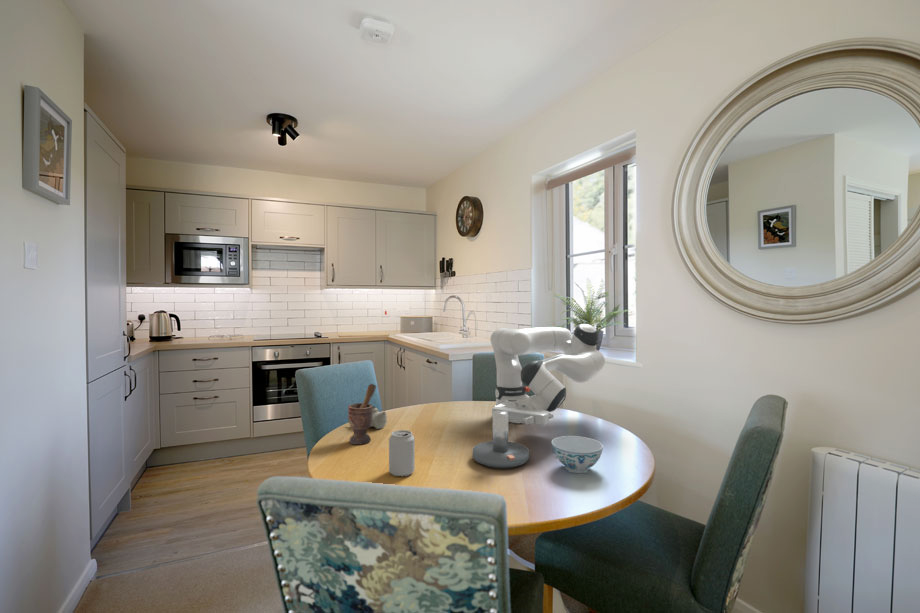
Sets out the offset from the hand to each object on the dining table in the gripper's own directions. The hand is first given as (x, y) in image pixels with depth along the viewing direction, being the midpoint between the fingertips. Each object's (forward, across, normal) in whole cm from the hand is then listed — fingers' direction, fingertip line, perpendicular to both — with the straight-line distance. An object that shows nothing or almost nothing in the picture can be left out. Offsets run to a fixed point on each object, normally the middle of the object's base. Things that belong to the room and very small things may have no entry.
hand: (510, 419), depth 141 cm
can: (+31, +21, -12) cm, 39 cm away
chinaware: (0, -22, -12) cm, 25 cm away
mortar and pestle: (+16, +52, -11) cm, 56 cm away
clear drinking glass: (+6, +1, -8) cm, 11 cm away
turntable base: (+6, +1, -12) cm, 13 cm away
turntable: (+6, +1, -10) cm, 12 cm away
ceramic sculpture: (+2, +62, -11) cm, 63 cm away
